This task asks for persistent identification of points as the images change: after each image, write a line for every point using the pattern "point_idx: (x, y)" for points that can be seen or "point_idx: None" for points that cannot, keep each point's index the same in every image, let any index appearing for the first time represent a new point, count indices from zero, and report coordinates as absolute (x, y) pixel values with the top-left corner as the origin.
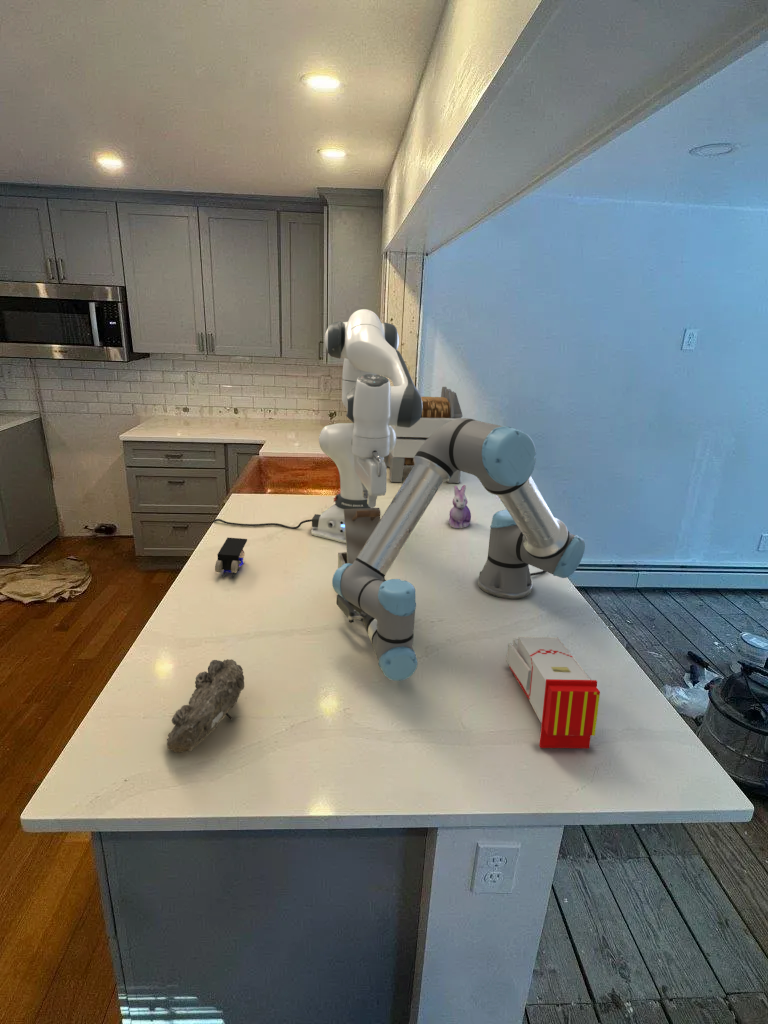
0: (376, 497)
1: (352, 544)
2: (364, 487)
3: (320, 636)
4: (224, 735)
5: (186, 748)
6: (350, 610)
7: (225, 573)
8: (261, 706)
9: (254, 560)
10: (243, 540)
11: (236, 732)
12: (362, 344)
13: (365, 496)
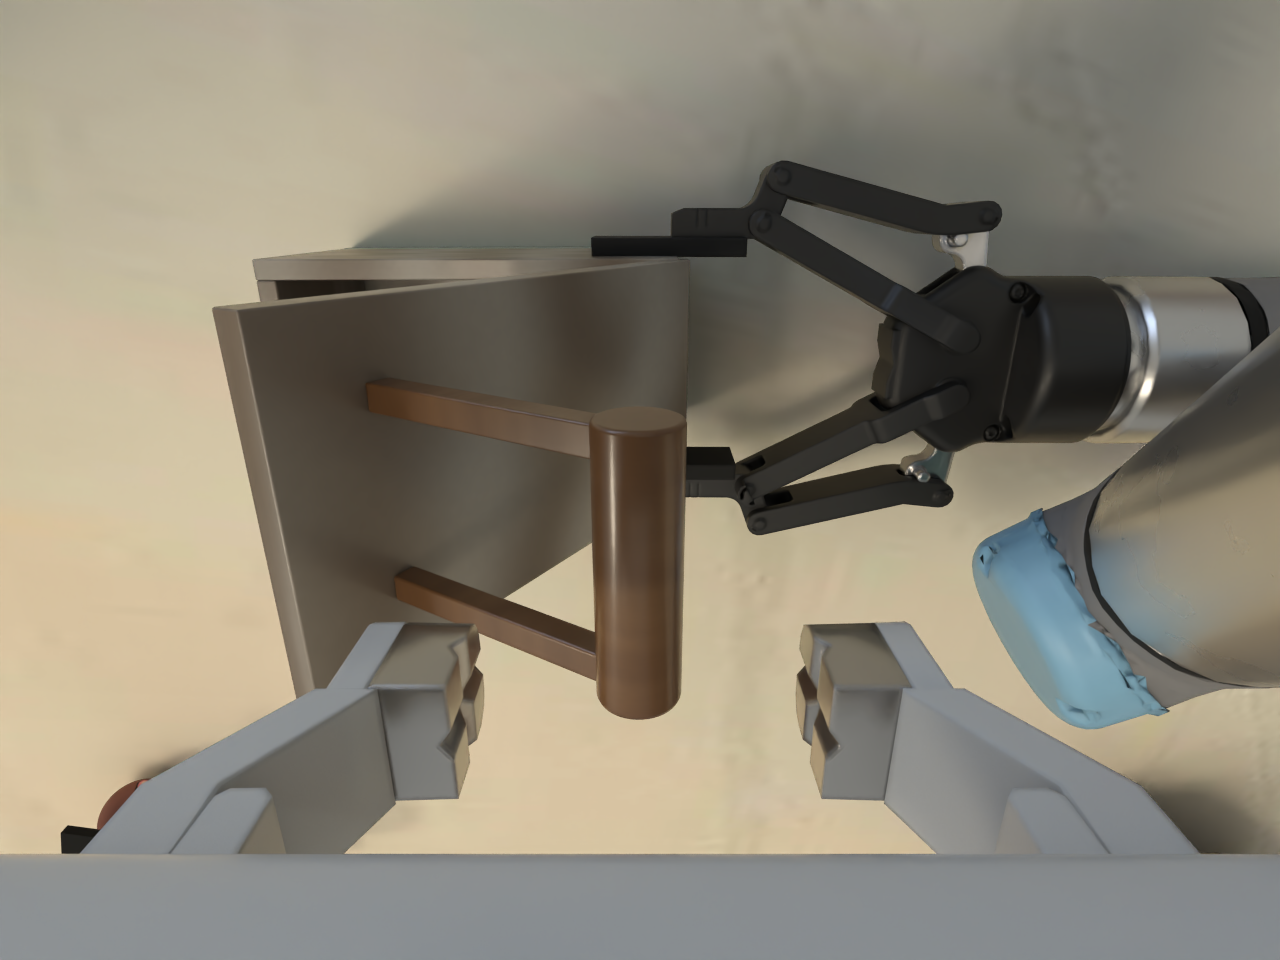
0: (1036, 736)
1: (562, 520)
2: (337, 816)
3: (808, 544)
4: (1196, 813)
5: None
6: (921, 497)
7: None
8: (1124, 736)
9: (137, 727)
10: (82, 845)
11: (1199, 790)
12: None
13: (475, 703)
